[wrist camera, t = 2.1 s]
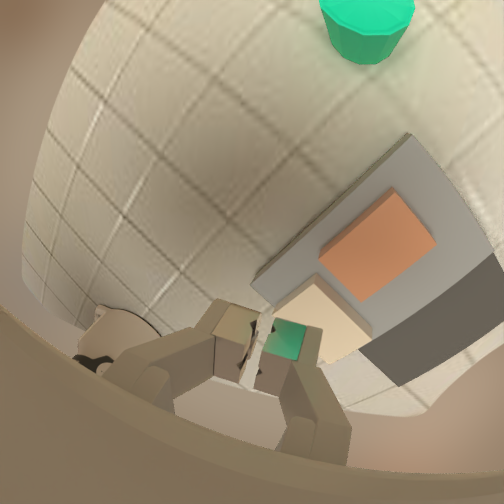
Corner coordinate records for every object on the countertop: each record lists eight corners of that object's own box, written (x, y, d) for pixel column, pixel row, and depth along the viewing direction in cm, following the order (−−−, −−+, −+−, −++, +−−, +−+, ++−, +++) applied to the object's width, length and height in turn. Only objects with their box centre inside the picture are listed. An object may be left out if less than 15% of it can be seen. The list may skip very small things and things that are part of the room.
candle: (369, 77, 22) (383, 50, 11) (316, 38, 21) (290, -10, 11) (406, 36, 18) (439, -11, 8) (353, -3, 18) (348, -68, 8)
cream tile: (372, 327, 30) (372, 340, 28) (331, 352, 33) (329, 364, 31) (316, 272, 29) (313, 283, 27) (276, 304, 32) (271, 315, 30)
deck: (338, 347, 35) (336, 361, 33) (256, 273, 34) (249, 285, 32) (485, 240, 24) (494, 250, 22) (407, 132, 23) (412, 134, 21)
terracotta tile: (361, 291, 28) (361, 302, 27) (320, 249, 28) (317, 259, 26) (432, 235, 24) (437, 244, 22) (392, 186, 23) (395, 192, 21)
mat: (398, 384, 35) (398, 387, 35) (352, 342, 34) (352, 344, 34) (518, 305, 25) (519, 307, 24) (487, 243, 24) (489, 245, 24)
